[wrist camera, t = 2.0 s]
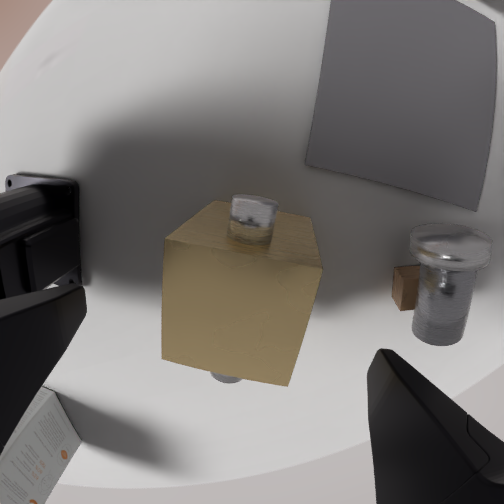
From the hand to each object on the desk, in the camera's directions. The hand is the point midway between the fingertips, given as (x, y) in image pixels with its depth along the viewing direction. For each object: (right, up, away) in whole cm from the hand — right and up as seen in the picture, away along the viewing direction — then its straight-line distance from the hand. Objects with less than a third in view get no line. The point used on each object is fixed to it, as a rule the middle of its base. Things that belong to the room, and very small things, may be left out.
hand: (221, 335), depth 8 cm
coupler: (+1, +2, +6) cm, 7 cm away
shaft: (+9, +2, +5) cm, 11 cm away
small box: (-20, -14, +15) cm, 28 cm away
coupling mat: (+8, +10, +2) cm, 13 cm away
